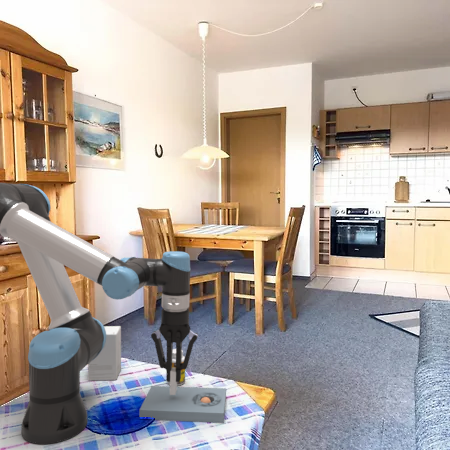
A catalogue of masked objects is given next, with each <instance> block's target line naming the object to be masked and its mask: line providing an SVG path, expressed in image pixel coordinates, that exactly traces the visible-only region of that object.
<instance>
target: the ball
mask: <svg viewBox="0 0 450 450" xmlns="http://www.w3.org/2000/svg"><path fill="white" fill-rule="evenodd" d="M201 402H203V403H211V401H210V399H209V398H208V397H204V398H202V399H201Z"/></svg>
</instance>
